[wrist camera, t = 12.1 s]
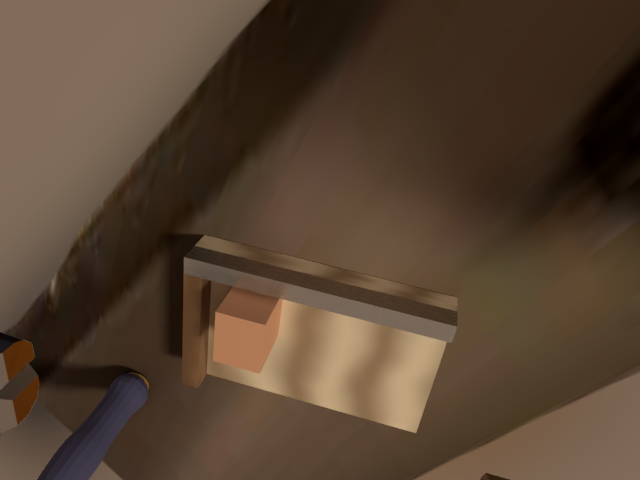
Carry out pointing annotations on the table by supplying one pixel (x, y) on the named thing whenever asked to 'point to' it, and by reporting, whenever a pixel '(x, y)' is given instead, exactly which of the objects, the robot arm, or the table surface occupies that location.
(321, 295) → the steel straightedge
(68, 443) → the rubber mallet
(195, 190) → the table surface
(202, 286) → the birch board
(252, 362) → the block
